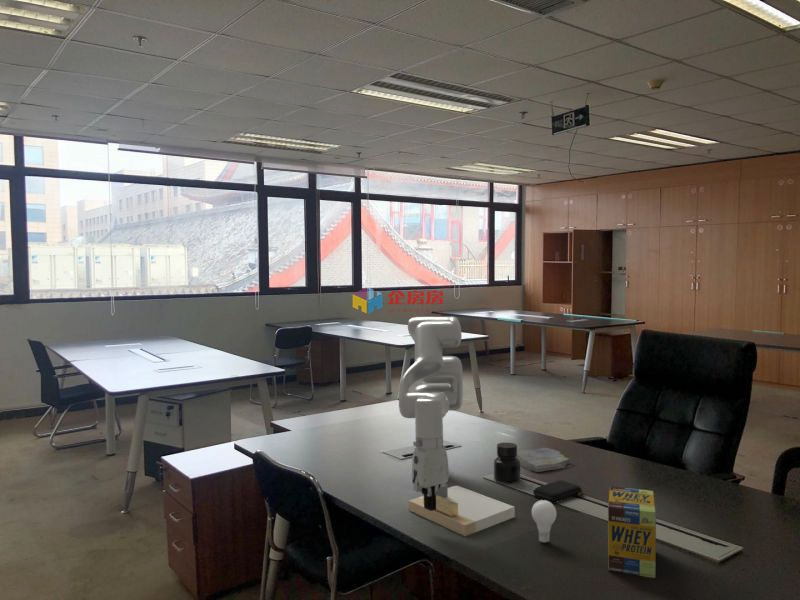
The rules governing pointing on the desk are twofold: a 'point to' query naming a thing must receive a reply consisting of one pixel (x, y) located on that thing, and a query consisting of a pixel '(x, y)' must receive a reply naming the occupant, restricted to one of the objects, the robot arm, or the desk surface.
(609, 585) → the desk surface
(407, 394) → the robot arm
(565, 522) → the desk surface
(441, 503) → the gold bar
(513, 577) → the desk surface
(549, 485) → the carrying case or bag
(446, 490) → the white cabinet door
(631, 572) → the protein box
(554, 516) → the lightbulb
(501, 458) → the ink bottle
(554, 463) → the grey flat stone slab
